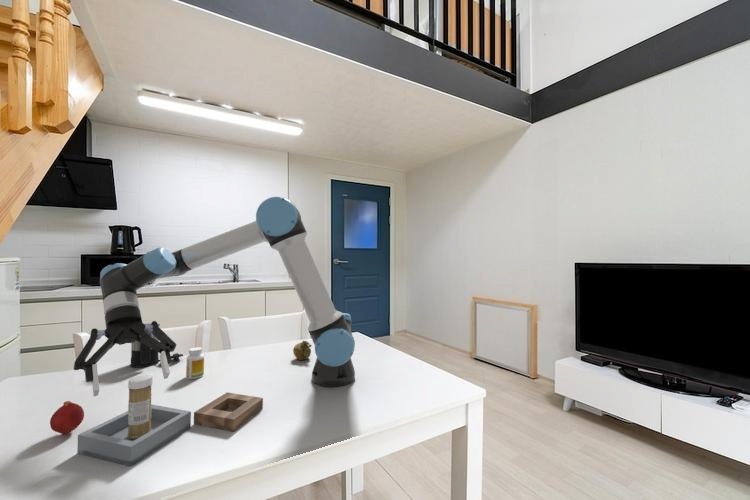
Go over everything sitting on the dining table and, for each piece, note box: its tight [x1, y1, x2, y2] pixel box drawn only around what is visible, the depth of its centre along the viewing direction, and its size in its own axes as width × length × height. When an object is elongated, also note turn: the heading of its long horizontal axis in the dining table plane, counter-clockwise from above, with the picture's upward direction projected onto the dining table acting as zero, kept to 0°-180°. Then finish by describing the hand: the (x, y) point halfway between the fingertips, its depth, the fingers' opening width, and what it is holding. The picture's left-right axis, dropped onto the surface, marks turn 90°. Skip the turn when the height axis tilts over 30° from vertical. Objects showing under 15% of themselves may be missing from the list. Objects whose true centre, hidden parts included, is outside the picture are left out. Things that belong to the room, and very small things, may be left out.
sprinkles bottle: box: [127, 373, 153, 439], centre depth 74 cm, size 5×5×14 cm
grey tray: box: [76, 403, 192, 467], centre depth 74 cm, size 15×15×4 cm
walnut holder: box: [193, 392, 264, 432], centre depth 85 cm, size 12×12×3 cm
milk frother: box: [129, 322, 184, 368], centre depth 123 cm, size 14×16×15 cm
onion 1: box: [49, 400, 85, 436], centre depth 75 cm, size 6×6×8 cm
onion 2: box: [292, 340, 313, 361], centre depth 131 cm, size 8×8×8 cm
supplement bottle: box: [185, 346, 205, 380], centre depth 111 cm, size 5×5×10 cm
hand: (134, 384), depth 75 cm, fingers open, 13 cm apart
